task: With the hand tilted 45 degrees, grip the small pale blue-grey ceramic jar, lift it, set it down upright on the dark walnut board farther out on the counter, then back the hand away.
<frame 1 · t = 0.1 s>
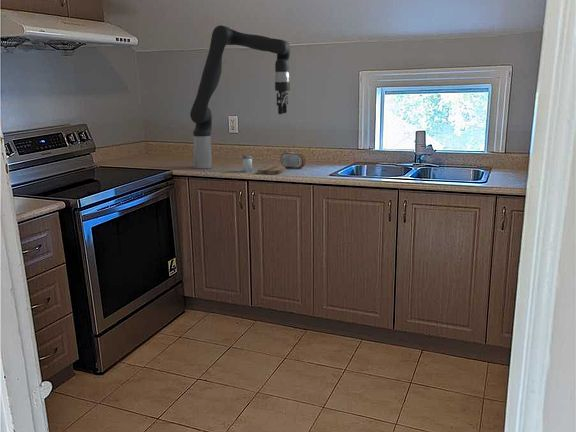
hand: (282, 113, 277), 29 cm above the counter, tool pointing down, fingers open, 8 cm apart
jar: (247, 171, 280), on the counter
walnut board: (271, 172, 277), on the counter
tin: (292, 168, 292), on the counter
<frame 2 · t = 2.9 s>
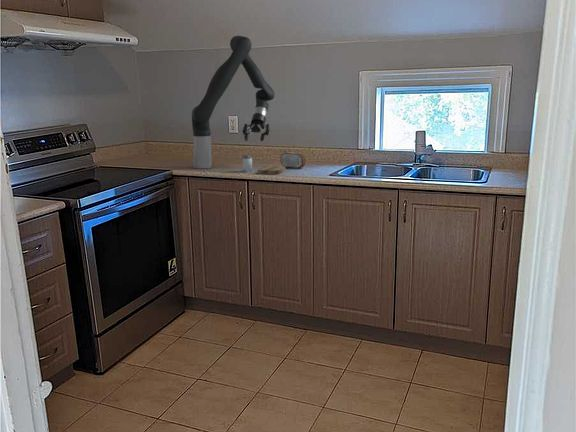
hand: (253, 140, 287), 15 cm above the counter, tool tilted 45°, fingers open, 8 cm apart
nothing on the counter moved.
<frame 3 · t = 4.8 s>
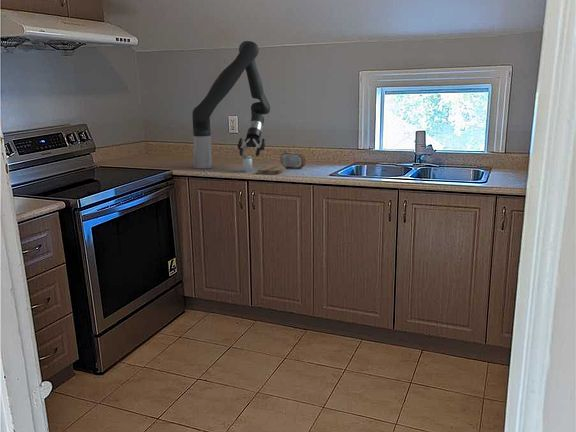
hand: (248, 155, 281), 8 cm above the counter, tool tilted 45°, fingers open, 8 cm apart
nothing on the counter moved.
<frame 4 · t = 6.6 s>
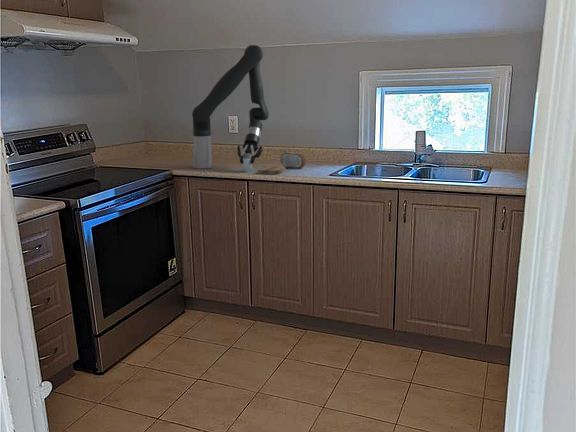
hand: (246, 162, 277), 5 cm above the counter, tool tilted 45°, fingers closed on jar, 4 cm apart
jar: (247, 171, 280), on the counter, touching gripper
everything else where it was.
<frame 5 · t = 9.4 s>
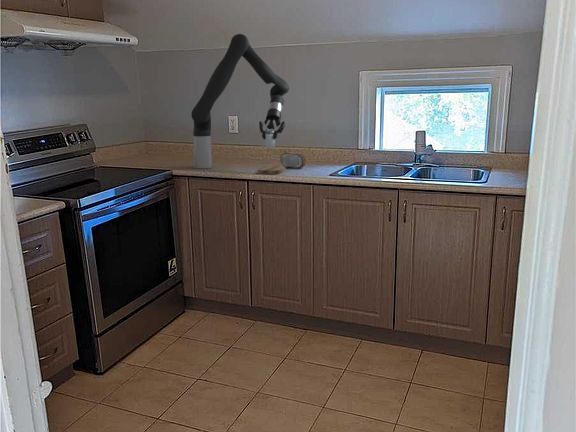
hand: (269, 138, 272), 17 cm above the counter, tool tilted 45°, fingers closed on jar, 4 cm apart
jar: (270, 147, 275), point 13 cm above the counter, touching gripper
everything else where it was.
when the fingers open (8 cm above the counter, at t = 12.1 s): jar drops 1 cm, resting on walnut board.
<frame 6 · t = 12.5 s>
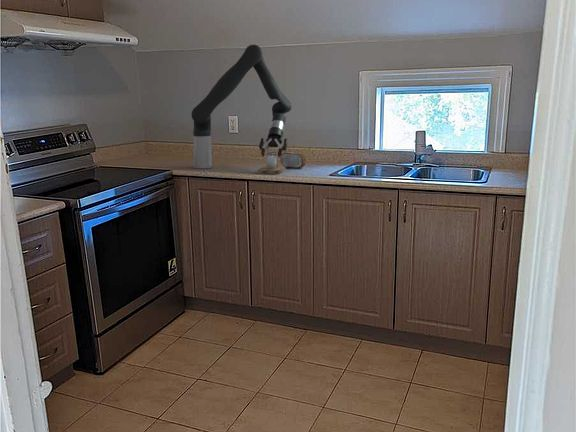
hand: (270, 155, 274), 9 cm above the counter, tool tilted 45°, fingers open, 8 cm apart
jar: (271, 168, 277), point 2 cm above the counter, touching walnut board
everything else where it was.
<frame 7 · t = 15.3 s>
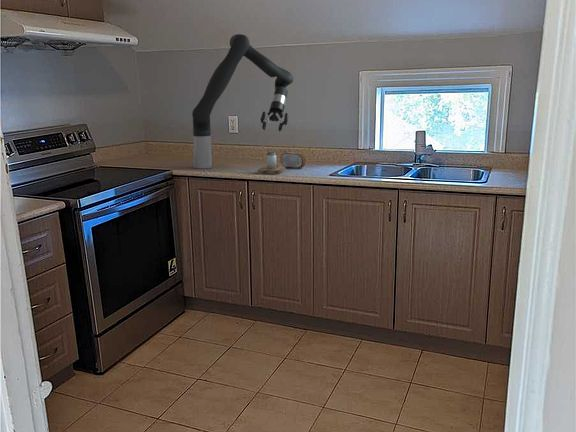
hand: (271, 129, 283), 21 cm above the counter, tool tilted 40°, fingers open, 8 cm apart
nothing on the counter moved.
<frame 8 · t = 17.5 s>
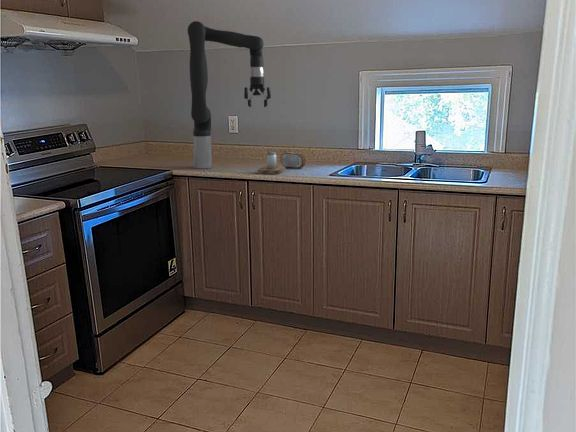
hand: (257, 106, 292), 32 cm above the counter, tool pointing down, fingers open, 8 cm apart
nothing on the counter moved.
at the end: jar inside the target area on the walnut board (0.1 cm from its centre), point 2.1 cm above the walnut board's base; jar tilted 2°; the gripper is holding nothing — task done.
